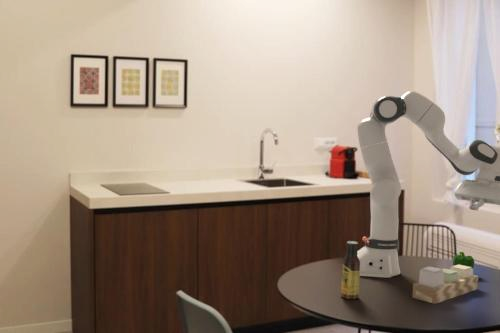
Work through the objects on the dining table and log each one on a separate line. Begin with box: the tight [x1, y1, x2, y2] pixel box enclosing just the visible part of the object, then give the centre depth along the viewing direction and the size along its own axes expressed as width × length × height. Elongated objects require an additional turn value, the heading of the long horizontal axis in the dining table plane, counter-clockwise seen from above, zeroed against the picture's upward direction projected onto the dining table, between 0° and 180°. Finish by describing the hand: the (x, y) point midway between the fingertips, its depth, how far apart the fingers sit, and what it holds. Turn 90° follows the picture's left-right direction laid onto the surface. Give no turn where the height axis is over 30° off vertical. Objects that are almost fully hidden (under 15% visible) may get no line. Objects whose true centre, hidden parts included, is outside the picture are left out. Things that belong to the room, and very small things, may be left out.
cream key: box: [449, 265, 474, 279], centre depth 230 cm, size 6×6×7 cm
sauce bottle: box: [340, 240, 361, 300], centre depth 216 cm, size 6×6×20 cm
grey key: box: [418, 266, 444, 288], centre depth 217 cm, size 6×6×7 cm
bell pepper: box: [452, 251, 475, 270], centre depth 249 cm, size 8×8×10 cm
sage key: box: [442, 268, 459, 283], centre depth 223 cm, size 6×6×7 cm
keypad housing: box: [412, 274, 479, 305], centre depth 224 cm, size 29×9×5 cm, turn 131°
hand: (473, 209), depth 233 cm, fingers closed
